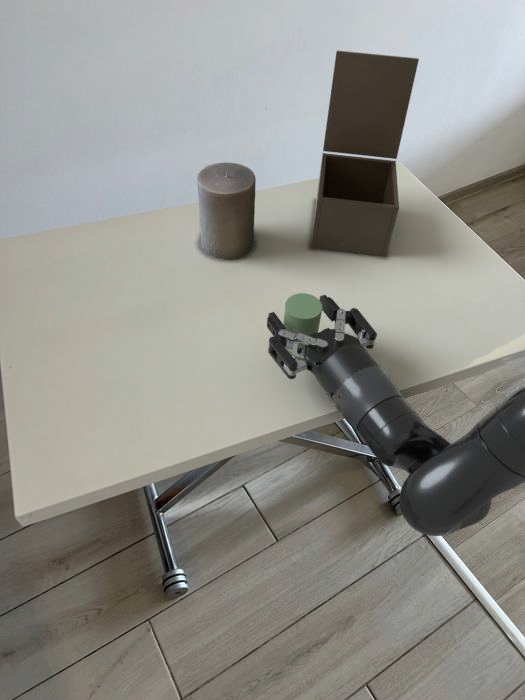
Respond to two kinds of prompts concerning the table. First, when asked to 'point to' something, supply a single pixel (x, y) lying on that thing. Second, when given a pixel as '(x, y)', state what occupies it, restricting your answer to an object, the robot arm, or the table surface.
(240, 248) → the pillar candle
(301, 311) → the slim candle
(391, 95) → the brown box lid
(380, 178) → the brown hinged box
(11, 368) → the table surface
